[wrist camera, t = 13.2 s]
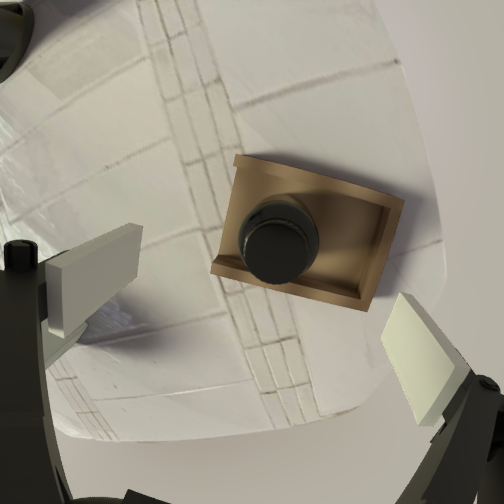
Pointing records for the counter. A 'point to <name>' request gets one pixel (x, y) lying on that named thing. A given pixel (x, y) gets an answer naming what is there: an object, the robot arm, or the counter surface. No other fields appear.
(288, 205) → the supplement bottle
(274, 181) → the u rest
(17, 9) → the robot arm
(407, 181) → the counter surface
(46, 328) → the skincare box
